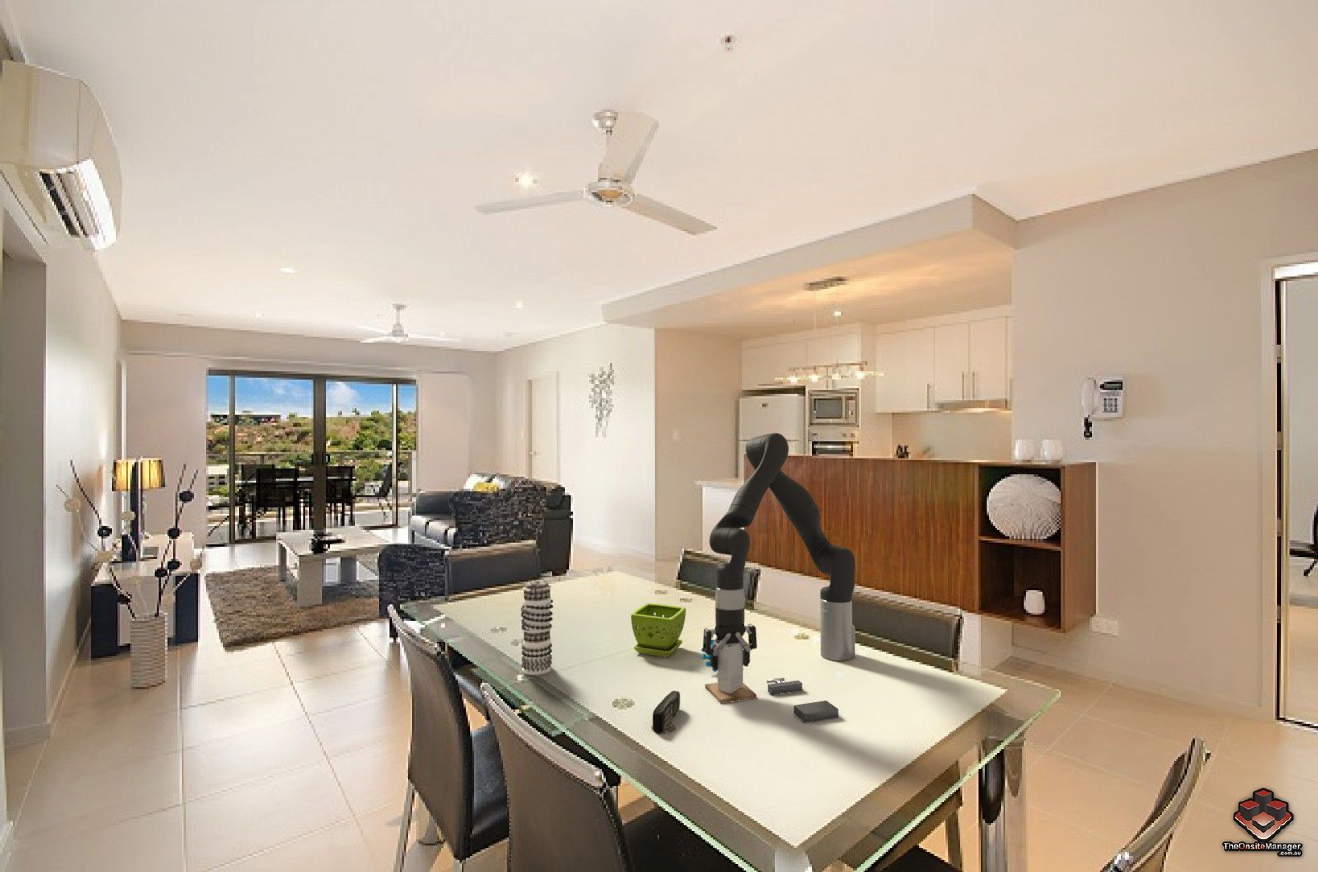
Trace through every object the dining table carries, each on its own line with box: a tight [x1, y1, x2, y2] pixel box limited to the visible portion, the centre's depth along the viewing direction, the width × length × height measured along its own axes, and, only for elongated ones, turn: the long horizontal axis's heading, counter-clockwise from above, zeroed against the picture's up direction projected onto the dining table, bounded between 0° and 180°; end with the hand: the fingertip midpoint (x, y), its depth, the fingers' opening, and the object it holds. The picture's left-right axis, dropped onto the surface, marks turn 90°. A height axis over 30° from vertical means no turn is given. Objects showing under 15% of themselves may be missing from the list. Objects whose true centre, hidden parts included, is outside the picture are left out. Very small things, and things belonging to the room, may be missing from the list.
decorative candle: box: [520, 579, 554, 676], centre depth 171 cm, size 9×9×25 cm
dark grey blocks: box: [766, 677, 839, 724], centre depth 149 cm, size 9×22×2 cm, turn 18°
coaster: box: [704, 682, 758, 704], centre depth 154 cm, size 10×10×1 cm
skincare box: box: [717, 642, 744, 694], centre depth 154 cm, size 6×4×12 cm
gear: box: [700, 638, 720, 673], centre depth 172 cm, size 11×6×10 cm
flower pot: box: [630, 602, 687, 659], centre depth 186 cm, size 14×14×13 cm
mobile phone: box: [652, 690, 681, 734], centre depth 140 cm, size 5×3×15 cm
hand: (730, 667), depth 154 cm, fingers open, 8 cm apart
